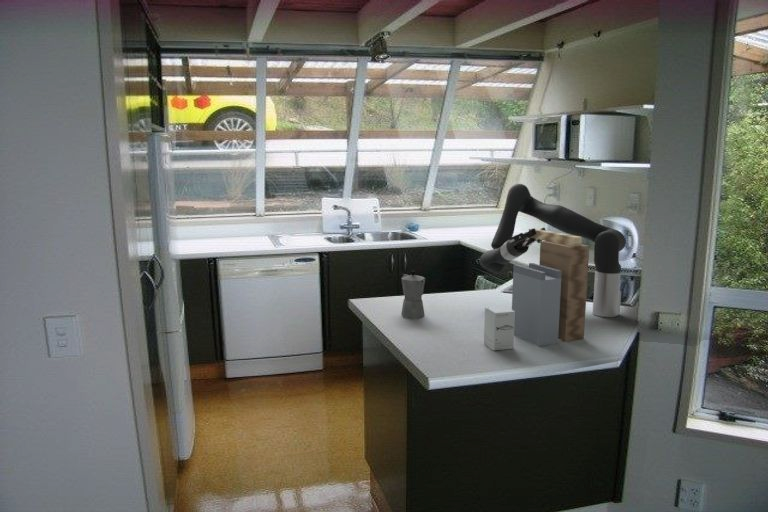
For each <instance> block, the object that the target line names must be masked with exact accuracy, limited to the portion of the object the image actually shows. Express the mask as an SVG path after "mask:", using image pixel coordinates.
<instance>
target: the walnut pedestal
mask: <svg viewBox="0 0 768 512" xmlns="http://www.w3.org/2000/svg"><path fill="white" fill-rule="evenodd" d="M539 244H540V245H539V261H538V262H539V264H538V265H542V266H546V267H549V268H553V269H557V270H561V271H562V275H561V294H560V313H559V332H558V340H560V341H562V342H565V343H567V342H573V341H579V340H584V339H585V325H586V324H585V323H586V309H587V307H586V306H587V296H588V295H587V293H588V292H587V291H588V279H589V277H588V275H589V260H590V259H589V258H590V257H589V256H590V245H587V244H583V243H582V244H581V246H569V245H564V244H559V243H555V242H550V241H545V240H542V241H540V243H539Z"/></svg>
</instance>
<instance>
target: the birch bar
mask: <svg viewBox="0 0 768 512" xmlns="http://www.w3.org/2000/svg"><path fill="white" fill-rule="evenodd" d="M531 229H532V228H528V231H530V230H531ZM540 229H541V228H540ZM540 229H538V228H535V230H536V234H535V235H534V236H532V237H531V238H535V239H540V240H542V241H550V242H555V243H559V244H564V245H569V246H581V244H583V243H582V242H583V237H580V236H575V235H571V234H568V233H564V232H563V233H562V232H556V231H550V230H546V229H545V230H540Z"/></svg>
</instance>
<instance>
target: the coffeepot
mask: <svg viewBox="0 0 768 512" xmlns="http://www.w3.org/2000/svg"><path fill="white" fill-rule="evenodd" d="M410 272H411V274H410V275H409V274H405V273H401V274H400V275H399V283H400V289H401V293H402V294H403V295H404V299H403V301H402V308H401V312H400V313H401V316H402V317H403V318H405V319H410V318H411V319H414V318H416V319H421V317H422V318H423V317H425V315H426V314H425V310H424V309H425V308H424V304H423V303H424V302H423V298H422V296H423V295H424V290H425V289H424V288H425V283H426V278H425V277H424V276H421V275H416V270H414V269H413V270H411V271H410ZM411 319H410V320H411ZM414 320H415V319H414Z"/></svg>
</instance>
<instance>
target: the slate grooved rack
mask: <svg viewBox="0 0 768 512" xmlns="http://www.w3.org/2000/svg"><path fill="white" fill-rule="evenodd" d="M512 267H513V268H512V270H513V273H512V291H511V292H512V295H511V310H513V311H515V326H514V336H516V337H518V338H520V339H522V340H525V341H527V342H529V343H530V344H533V345H535V346H537V347H541V346H543V347H544V346H549V345H553V344H558V343H559V339H558V332H559V313H560V294H561V275H562V271H561V270H557V269H553V268H549V267H546V266H542V265H539V264H537V263H533V262H529V263H528V267H527V266H524V265H520V264H513V266H512Z"/></svg>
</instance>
